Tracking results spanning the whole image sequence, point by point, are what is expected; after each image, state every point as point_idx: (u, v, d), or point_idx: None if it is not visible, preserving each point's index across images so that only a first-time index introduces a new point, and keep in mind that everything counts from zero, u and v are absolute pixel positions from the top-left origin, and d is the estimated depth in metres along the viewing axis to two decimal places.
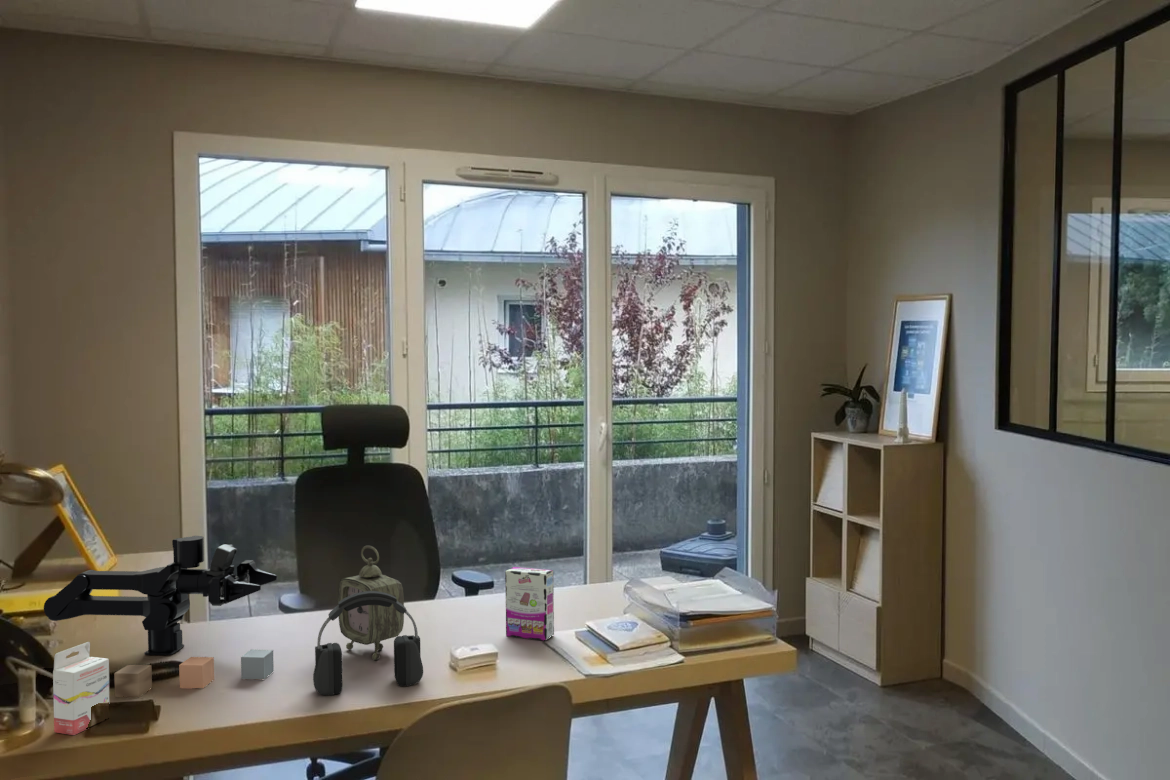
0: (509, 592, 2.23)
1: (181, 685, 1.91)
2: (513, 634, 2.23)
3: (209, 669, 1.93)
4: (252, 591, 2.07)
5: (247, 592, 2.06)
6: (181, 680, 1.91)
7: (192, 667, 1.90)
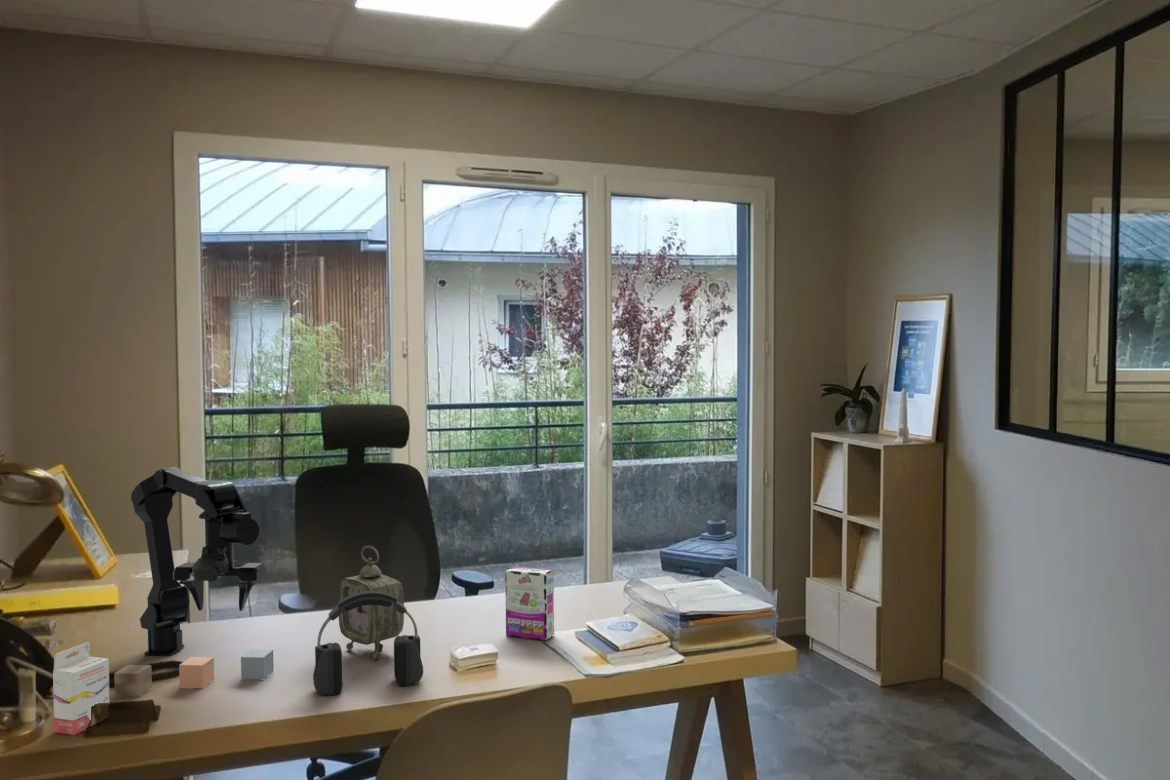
0: (509, 592, 2.23)
1: (181, 685, 1.91)
2: (513, 634, 2.23)
3: (209, 669, 1.93)
4: None
5: None
6: (181, 680, 1.91)
7: (192, 668, 1.90)
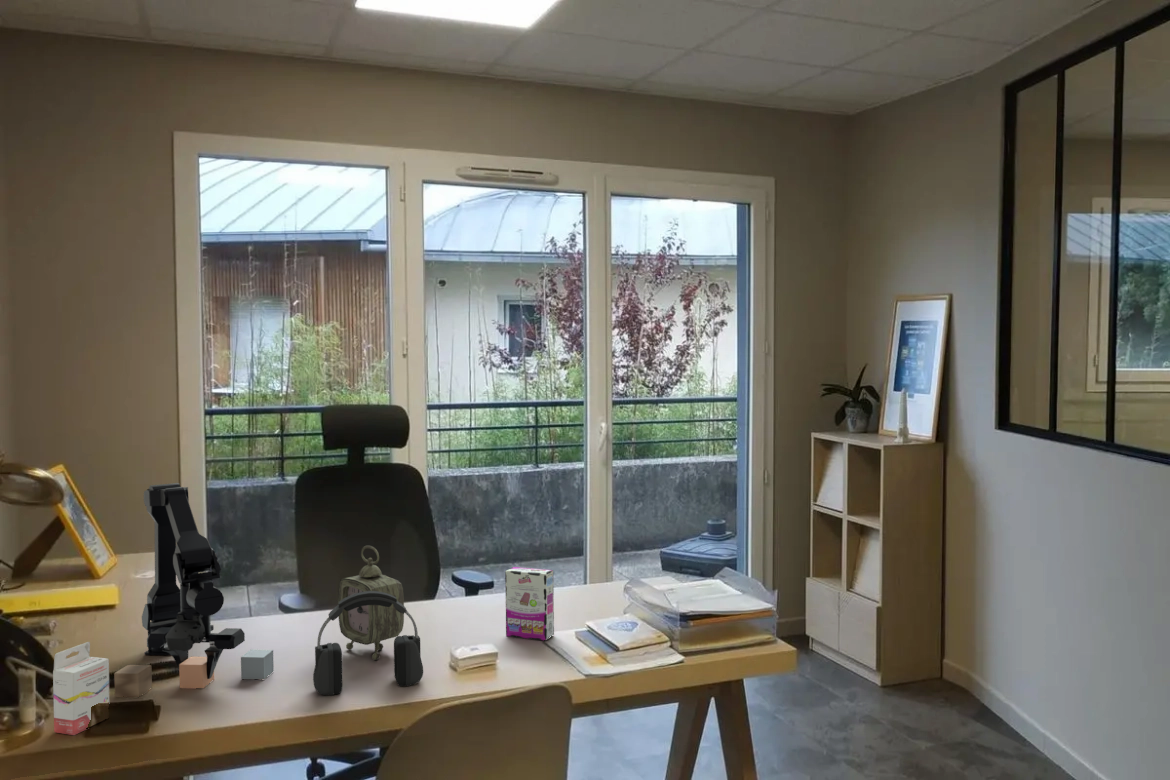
0: (509, 592, 2.23)
1: (181, 685, 1.91)
2: (513, 634, 2.23)
3: None
4: None
5: None
6: (181, 680, 1.91)
7: (192, 667, 1.90)
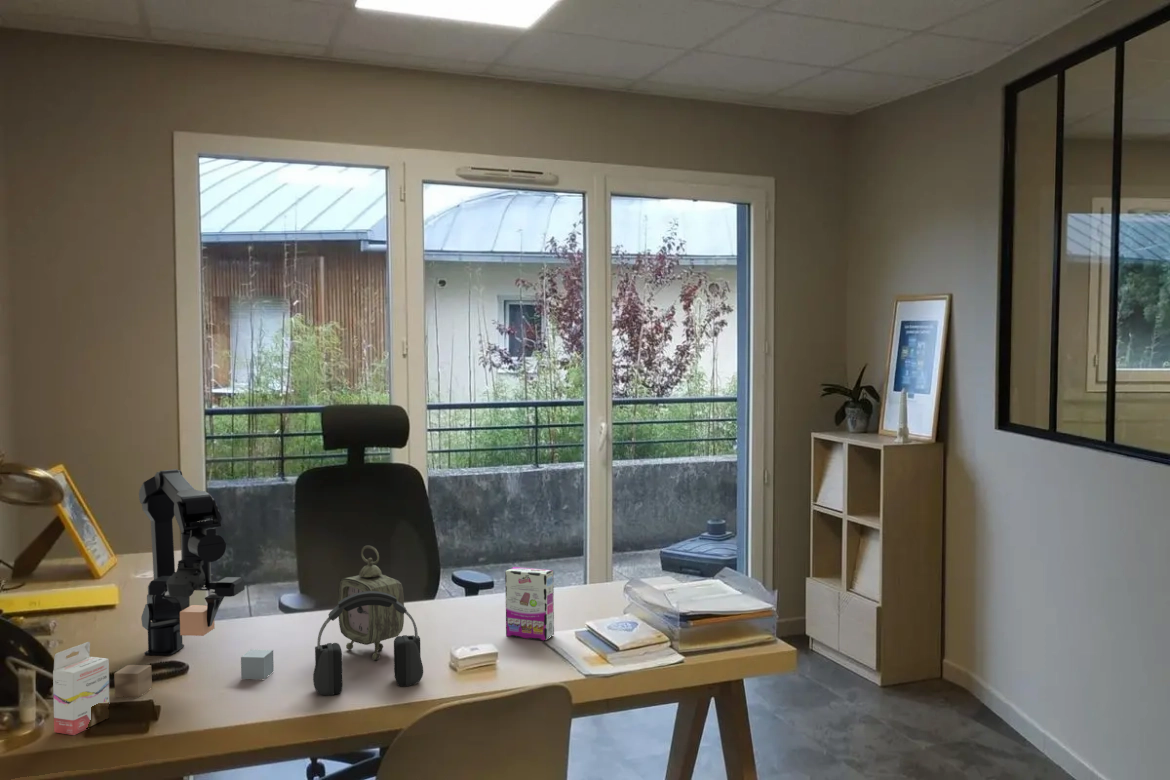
0: (509, 592, 2.23)
1: (182, 632, 1.93)
2: (513, 634, 2.23)
3: None
4: None
5: None
6: (182, 627, 1.93)
7: (193, 614, 1.92)
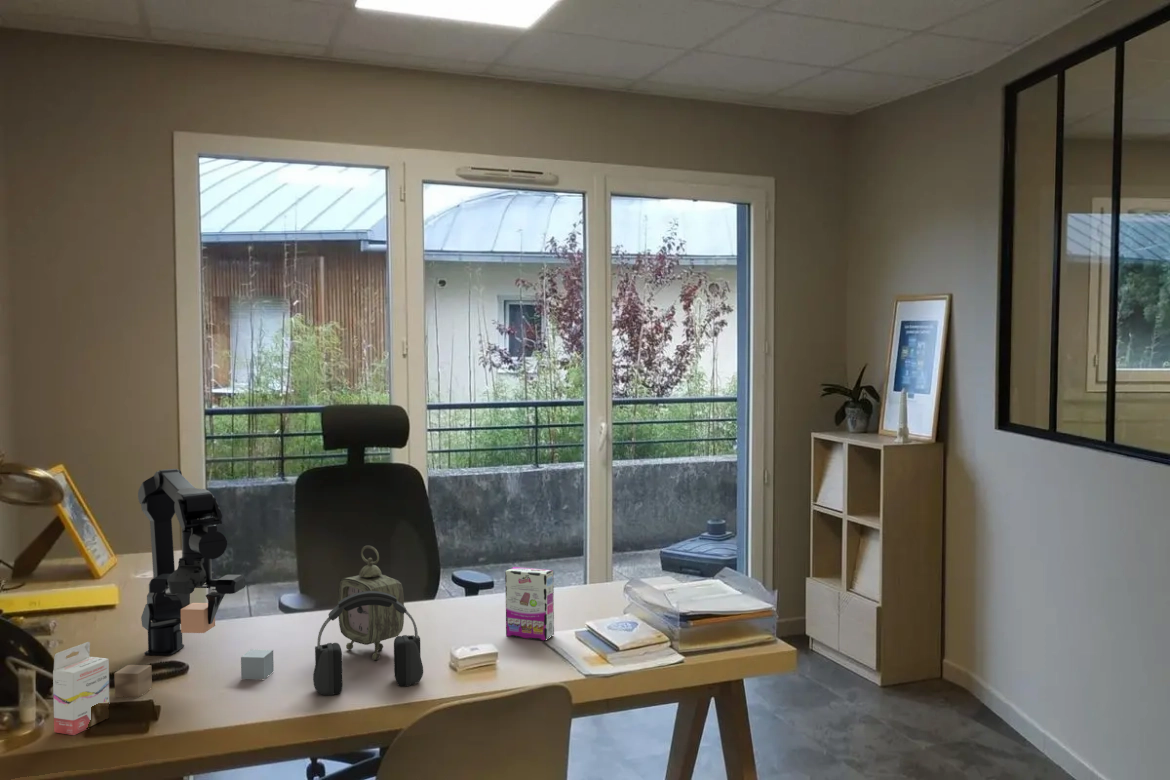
0: (509, 592, 2.23)
1: (182, 629, 1.93)
2: (513, 634, 2.23)
3: None
4: None
5: None
6: (182, 624, 1.93)
7: (193, 612, 1.93)
